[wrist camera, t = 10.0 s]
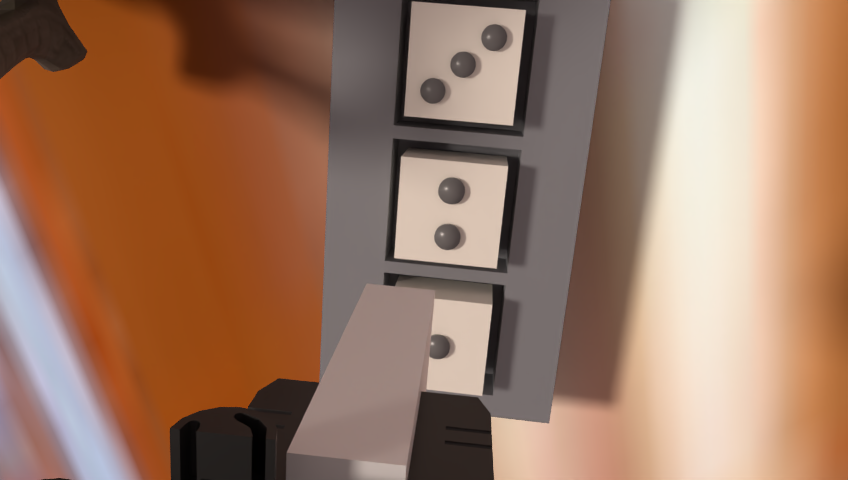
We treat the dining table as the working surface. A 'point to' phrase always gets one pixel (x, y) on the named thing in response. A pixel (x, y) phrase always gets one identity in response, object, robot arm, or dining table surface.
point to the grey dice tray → (521, 143)
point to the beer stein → (37, 35)
